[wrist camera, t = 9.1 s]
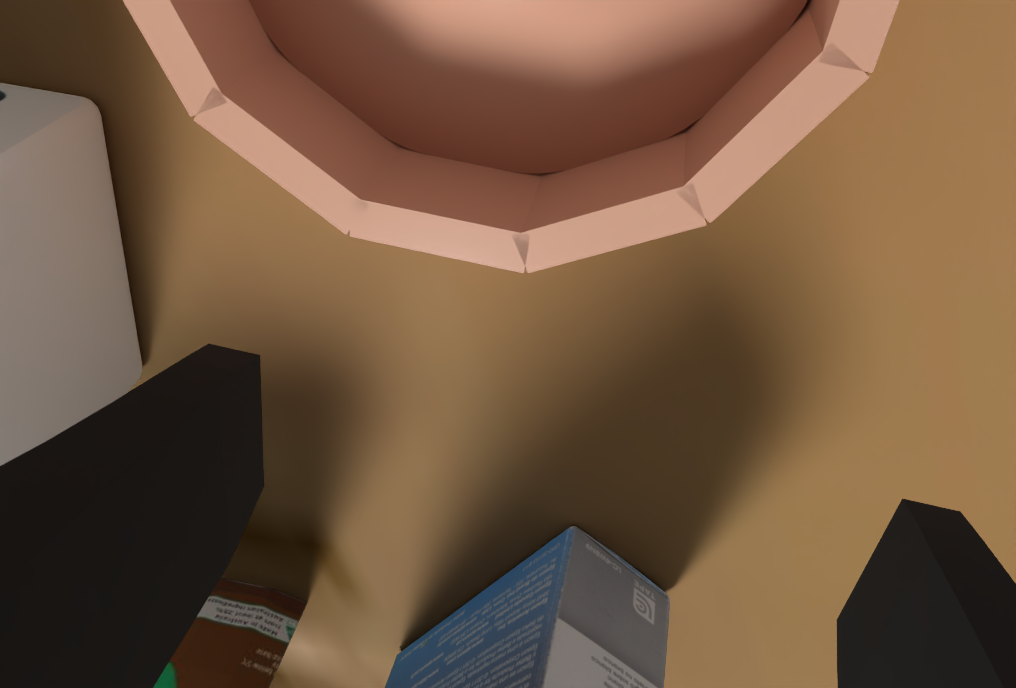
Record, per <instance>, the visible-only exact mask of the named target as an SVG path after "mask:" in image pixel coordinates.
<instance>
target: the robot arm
mask: <svg viewBox="0 0 1016 688" xmlns="http://www.w3.org/2000/svg"><path fill="white" fill-rule="evenodd" d="M263 487H264V470H263V438H262V406H261V375H260V355H257V354H252V353H248V352H243V351H239V350H234V349H230V348H225V347H221V346H216V345H212V344H208V345H206V346H204V347H202V348H201V349H199V350H197V351H195V352H194V353H192V354H190V355H189V356H187V357H185V358H184V359H182V360H180V361H179V362H177V363H175V364H174V365H172V366H170V367H169V368H167V369H166V370H164V371H162V372H161V373H159V374H157V375H156V376H154V377H153V378H151V379H149V380H148V381H146V382H144V383H143V384H141V385H140V386H138V387H136V388H135V389H133V390H131V391H130V392H128V393H127V394H125V395H123V396H122V397H120V398H118V399H117V400H115V401H113V402H112V403H110V404H108V405H107V406H105V407H103V408H102V409H100V410H98V411H96V412H95V413H93V414H91V415H90V416H88V417H86V418H85V419H83V420H81V421H80V422H78V423H76V424H75V425H73V426H71V427H69V428H68V429H66V430H64V431H63V432H61V433H59V434H58V435H56V436H54V437H53V438H51V439H49V440H47V441H46V442H44V443H42V444H40V445H38V446H36V447H34V448H33V449H31V450H29V451H27V452H25V453H23V454H21V455H20V456H18V457H16V458H14V459H12V460H10V461H8V462H7V463H5V464H3V465H1V466H0V688H153V687H154V685H155V684H156V682H157V681H158V679H159V677H160V676H161V674H162V672H163V671H164V669H165V668H166V666H167V664H168V663H169V661H170V659H171V658H172V656H173V655H174V653H175V651H176V650H177V648H178V647H179V645H180V643H181V642H182V640H183V638H184V637H185V635H186V634H187V632H188V630H189V629H190V627H191V625H192V624H193V622H194V621H195V619H196V617H197V616H198V614H199V612H200V611H201V609H202V607H203V606H204V604H205V602H206V601H207V599H208V597H209V596H210V594H211V593H212V591H213V589H214V588H215V586H216V584H217V583H218V581H219V579H220V578H221V576H222V574H223V573H224V571H225V569H226V567H227V566H228V564H229V562H230V560H231V558H232V556H233V554H234V552H235V550H236V547H237V545H238V543H239V541H240V539H241V537H242V535H243V532H244V530H245V528H246V526H247V524H248V521H249V519H250V517H251V514H252V512H253V510H254V508H255V505H256V503H257V501H258V498H259V496H260V494H261V491H262V489H263ZM837 675H838V688H1016V584H1015V582H1014V581H1013V580H1012V578H1011V577H1010V576H1009V574H1008V573H1007V572H1006V570H1005V569H1004V568H1003V566H1002V565H1001V564H1000V562H999V561H998V560H997V558H996V557H995V556H994V554H993V553H992V552H991V550H990V549H989V548H988V546H987V545H986V544H985V542H984V541H983V540H982V538H981V537H980V536H979V535H978V533H977V532H976V531H975V529H974V528H973V527H972V526H971V524H970V523H969V522H968V521H967V519H966V518H965V517H964V516H963V514H962V513H961V512H960V511H955V510H951V509H946V508H942V507H937V506H933V505H928V504H924V503H919V502H915V501H910V500H906V499H902V501H901V502H900V504H899V506H898V508H897V510H896V512H895V513H894V515H893V517H892V519H891V521H890V523H889V525H888V526H887V528H886V530H885V532H884V534H883V536H882V538H881V539H880V541H879V543H878V545H877V547H876V549H875V550H874V552H873V554H872V556H871V558H870V560H869V562H868V563H867V565H866V567H865V569H864V571H863V573H862V574H861V576H860V578H859V580H858V582H857V584H856V586H855V587H854V589H853V591H852V593H851V595H850V597H849V599H848V600H847V602H846V604H845V606H844V608H843V610H842V611H841V613H840V615H839V617H838V619H837Z"/></svg>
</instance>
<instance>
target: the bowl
mask: <svg viewBox="0 0 1016 688" xmlns="http://www.w3.org/2000/svg"><path fill="white" fill-rule="evenodd" d="M123 2H124V3H125V5H126V7H127V9H128V10H129V12H130V14H131V15H132V17H133V19H134V21H135V22H136V24H137V26H138V28H139V29H140V31H141V33H142V34H143V36H144V38H145V40H146V41H147V43H148V45H149V46H150V48H151V50H152V52H153V53H154V55H155V57H156V58H157V60H158V62H159V64H160V65H161V67H162V69H163V70H164V72H165V74H166V76H167V77H168V79H169V81H170V83H171V84H172V86H173V88H174V89H175V91H176V93H177V95H178V96H179V98H180V100H181V101H182V103H183V105H184V107H185V108H186V110H187V112H188V113H189V115H190V117H191V116H194V115H196V114H197V115H196V117H195V118H194V121H195V122H197V123H198V124H199V125H201V126H202V127H203V128H205V129H206V130H207V131H209V132H210V133H211V134H213V135H214V136H215V137H217V138H218V139H219V140H221V141H222V142H223V143H225V144H226V145H227V146H229V147H230V148H231V149H233V150H234V151H235V152H237V153H238V154H239V155H241V156H242V157H243V158H245V159H246V160H247V161H249V162H250V163H251V164H253V165H254V166H255V167H257V168H258V169H259V170H261V171H262V172H263V173H265V174H266V175H267V176H269V177H270V178H271V179H273V180H274V181H275V182H277V183H278V184H279V185H281V186H282V187H283V188H285V189H286V190H287V191H289V192H290V193H291V194H293V195H294V196H295V197H297V198H298V199H299V200H301V201H302V202H303V203H305V204H306V205H307V206H309V207H310V208H311V209H313V210H314V211H315V212H317V213H318V214H319V215H321V216H322V217H323V218H325V219H326V220H327V221H329V222H330V223H331V224H333V225H334V226H335V227H337V228H338V229H339V230H341V231H342V232H343V233H345V234H347V233H348V232H349V231H350V237H355V238H360V239H364V240H369V241H374V242H378V243H383V244H388V245H393V246H397V247H402V248H407V249H412V250H416V251H421V252H426V253H430V254H435V255H440V256H445V257H449V258H454V259H459V260H463V261H468V262H473V263H478V264H482V265H487V266H492V267H496V268H501V269H506V270H511V271H515V272H520V273H524V272H525V269H526V270H527V272H528V273H531V272H534V271H538V270H542V269H546V268H549V267H553V266H557V265H561V264H564V263H568V262H572V261H576V260H579V259H583V258H587V257H590V256H594V255H598V254H602V253H605V252H609V251H613V250H617V249H620V248H624V247H628V246H632V245H635V244H639V243H643V242H646V241H650V240H654V239H658V238H661V237H665V236H669V235H673V234H676V233H680V232H684V231H688V230H691V229H695V228H699V227H702V226H706V225H707V221H708V222H710V223H711V222H712V221H714V220H715V219H716V218H717V217H718V216H719V215H720V214H721V213H722V212H723V211H724V210H726V209H727V208H728V207H729V206H730V205H731V204H732V203H733V202H734V201H735V200H736V199H738V198H739V197H740V196H741V195H742V194H743V193H744V192H745V191H746V190H747V189H748V188H749V187H751V186H752V185H753V184H754V183H755V182H756V181H757V180H758V179H759V178H760V177H761V176H763V175H764V174H765V173H766V172H767V171H768V170H769V169H770V168H771V167H772V166H773V165H775V164H776V163H777V162H778V161H779V160H780V159H781V158H782V157H783V156H784V155H785V154H787V153H788V152H789V151H790V150H791V149H792V148H793V147H794V146H795V145H796V144H797V143H799V142H800V141H801V140H802V139H803V138H804V137H805V136H806V135H807V134H808V133H809V132H810V131H812V130H813V129H814V128H815V127H816V126H817V125H818V124H819V123H820V122H821V121H822V120H824V119H825V118H826V117H827V116H828V115H829V114H830V113H831V112H832V111H833V110H834V109H836V108H837V107H838V106H839V105H840V104H841V103H842V102H843V101H844V100H845V99H846V98H848V97H849V96H850V95H851V94H852V93H853V92H854V91H855V90H856V89H857V88H858V87H860V86H861V85H862V84H863V83H864V82H865V81H866V80H867V79H868V78H869V75H868V73H867V72H871V73H873V70H874V68H875V65H876V62H877V60H878V57H879V54H880V52H881V49H882V46H883V43H884V41H885V38H886V35H887V33H888V30H889V27H890V25H891V22H892V19H893V17H894V14H895V11H896V8H897V6H898V3H899V0H123Z"/></svg>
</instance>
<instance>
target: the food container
mask: <svg viewBox="0 0 1016 688" xmlns="http://www.w3.org/2000/svg"><path fill="white" fill-rule="evenodd" d="M306 605H307V602H304V601H302V600H299V599H297V598H294V597H292V596H289V595H287V594H284V593H282V592H279V591H277V590H274V589H271V588H267V587H262V586H257V585H253V584H248V583H243V582H239V581H234V580H230V579H219V581H218V583H217V584H216V586H215V588H214V589H213V591H212V593H211V594H210V596H209V597H208V599H207V601H206V602H205V604H204V606H203V607H202V609H201V611H200V612H199V614H198V616H197V617H196V619H195V621H194V622H193V624H192V625H191V627H190V629H189V630H188V632H187V634H186V635H185V637H184V638H183V640H182V642H181V643H180V645H179V647H178V648H177V650H176V651H175V653H174V655H173V656H172V658H171V659H170V661H169V663H168V664H167V666H166V668H165V669H164V671H163V672H162V674H161V676H160V677H159V679H158V681H157V682H156V684H155V685H154V687H153V688H269V687H270V685H271V682H272V680H273V678H274V676H275V674H276V671H277V669H278V667H279V665H280V662H281V660H282V658H283V656H284V654H285V651H286V649H287V647H288V645H289V642H290V640H291V638H292V636H293V634H294V631H295V629H296V627H297V625H298V622H299V620H300V618H301V616H302V614H303V611H304V609H305V607H306Z"/></svg>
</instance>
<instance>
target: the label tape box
mask: <svg viewBox="0 0 1016 688" xmlns="http://www.w3.org/2000/svg"><path fill="white" fill-rule="evenodd" d="M669 610H670V598H669V596H668V595H667V594H666V593H665V592H664V591H662V590H661V589H660V588H659V587H657V586H656V585H655V584H654V583H652V582H651V581H650V580H649V579H647V578H646V577H645V576H644V575H643V574H641V573H640V572H639V571H637V570H636V569H635V568H633V567H632V566H631V565H629V564H628V563H627V562H626V561H624V560H623V559H622V558H621V557H619V556H618V555H616V554H615V553H614V552H612V551H611V550H609V549H608V548H606V547H605V546H604V545H602V544H601V543H599V542H597V541H596V540H595V539H593V538H592V537H591V536H589V535H588V534H586V533H585V532H583V531H582V530H580V529H579V528H577V527H575V526H571V527H569V528H568V529H566V530H565V531H564V532H563V533H561V534H560V535H558V536H557V537H556V538H554V539H553V540H551V541H550V542H549V543H547V544H546V545H545V546H543V547H542V548H541V549H539V550H538V551H536V552H535V553H534V554H532V555H531V556H530V557H528V558H527V559H526V560H524V561H523V562H522V563H520V564H519V565H517V566H516V567H515V568H513V569H512V570H511V571H509V572H508V573H507V574H505V575H504V576H502V577H501V578H500V579H498V580H497V581H496V582H494V583H493V584H492V585H490V586H489V587H487V588H486V589H485V590H483V591H482V592H481V593H479V594H478V595H477V596H475V597H474V598H473V599H471V600H470V601H469V602H467V603H466V604H465V605H463V606H462V607H461V608H459V609H458V610H457V611H455V612H454V613H453V614H451V615H450V616H449V617H447V618H446V619H445V620H443V621H442V622H440V623H439V624H438V625H436V626H435V627H434V628H432V629H431V630H430V631H428V632H427V633H426V634H424V635H423V636H422V637H420V638H419V639H417V640H416V641H415V642H413V643H412V644H411V645H409V646H408V647H407V648H406V649H404V650H403V651H402V652H400V653H399V654H398V655H397V656H396V659H395V662H394V665H393V668H392V670H391V673H390V676H389V678H388V681H387V683H386V686H385V688H664V677H665V664H666V651H667V636H668V624H669Z"/></svg>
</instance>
